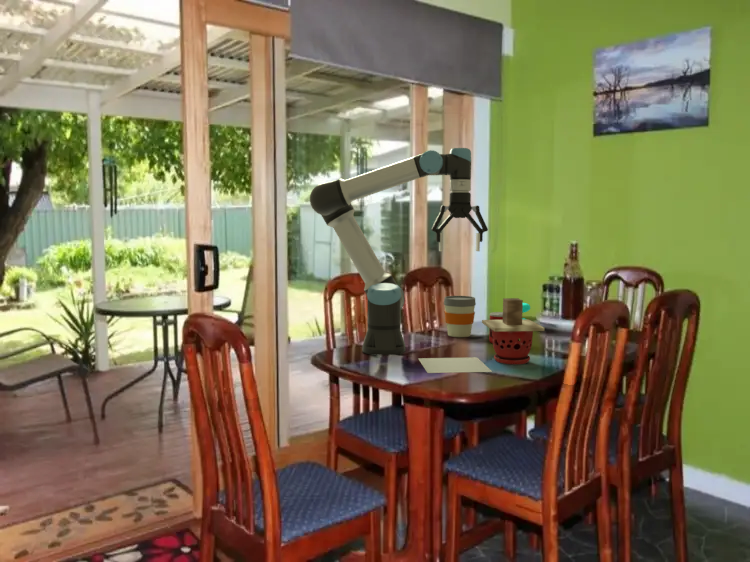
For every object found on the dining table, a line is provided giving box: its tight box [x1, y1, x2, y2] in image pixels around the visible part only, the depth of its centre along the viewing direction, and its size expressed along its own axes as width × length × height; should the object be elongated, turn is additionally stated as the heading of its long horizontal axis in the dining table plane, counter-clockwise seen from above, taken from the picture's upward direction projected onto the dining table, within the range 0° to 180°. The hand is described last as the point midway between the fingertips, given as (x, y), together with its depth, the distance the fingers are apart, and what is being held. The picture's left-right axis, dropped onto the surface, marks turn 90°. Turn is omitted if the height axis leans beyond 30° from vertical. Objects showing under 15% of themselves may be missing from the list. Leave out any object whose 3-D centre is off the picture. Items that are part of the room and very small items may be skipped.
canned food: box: [488, 311, 503, 344], centre depth 255 cm, size 8×8×11 cm
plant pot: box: [492, 330, 534, 365], centre depth 222 cm, size 13×13×12 cm
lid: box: [481, 297, 545, 332], centre depth 221 cm, size 16×16×9 cm
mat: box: [417, 356, 493, 374], centre depth 217 cm, size 20×20×1 cm
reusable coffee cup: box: [443, 295, 477, 338], centre depth 269 cm, size 13×13×15 cm
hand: (459, 251), depth 245 cm, fingers open, 13 cm apart
